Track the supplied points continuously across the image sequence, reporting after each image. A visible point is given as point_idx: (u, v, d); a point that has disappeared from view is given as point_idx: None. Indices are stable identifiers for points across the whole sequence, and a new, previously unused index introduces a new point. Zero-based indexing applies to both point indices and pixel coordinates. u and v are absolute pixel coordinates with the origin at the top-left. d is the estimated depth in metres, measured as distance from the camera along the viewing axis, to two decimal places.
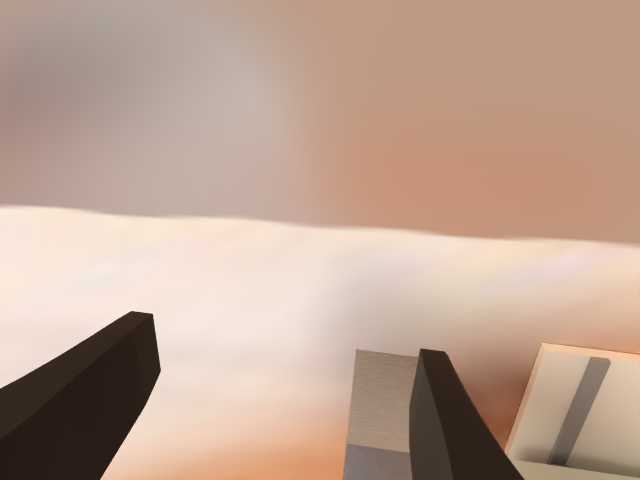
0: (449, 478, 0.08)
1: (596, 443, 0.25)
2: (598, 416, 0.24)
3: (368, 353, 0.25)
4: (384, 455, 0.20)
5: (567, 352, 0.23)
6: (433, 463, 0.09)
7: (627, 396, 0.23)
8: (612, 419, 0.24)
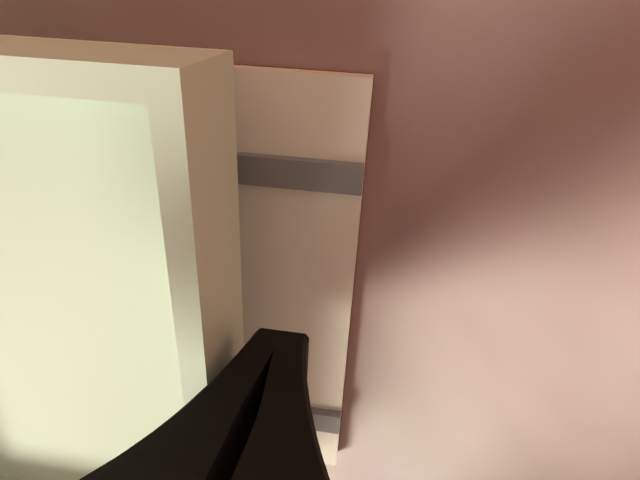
0: None
1: None
2: None
3: None
4: None
5: None
6: None
7: None
8: None
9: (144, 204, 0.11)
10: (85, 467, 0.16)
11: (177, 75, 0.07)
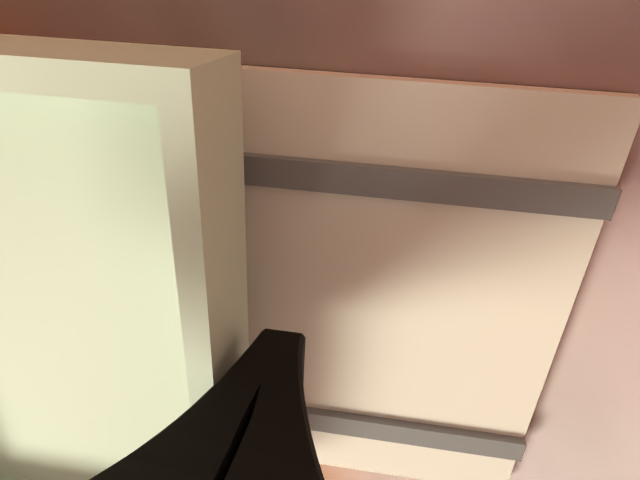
0: None
1: None
2: None
3: None
4: None
5: None
6: None
7: None
8: None
9: (150, 205, 0.11)
10: (89, 467, 0.16)
11: (187, 76, 0.07)
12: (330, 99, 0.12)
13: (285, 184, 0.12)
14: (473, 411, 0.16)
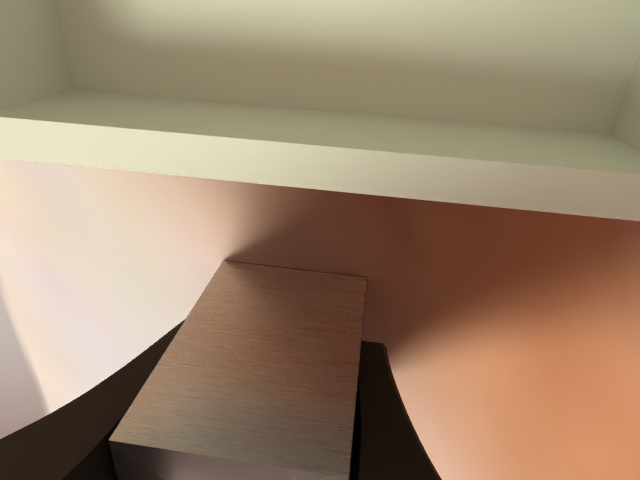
0: (359, 464, 0.08)
1: None
2: None
3: None
4: None
5: None
6: (356, 451, 0.09)
7: None
8: None
9: None
10: (310, 29, 0.07)
11: None
12: None
13: None
14: None
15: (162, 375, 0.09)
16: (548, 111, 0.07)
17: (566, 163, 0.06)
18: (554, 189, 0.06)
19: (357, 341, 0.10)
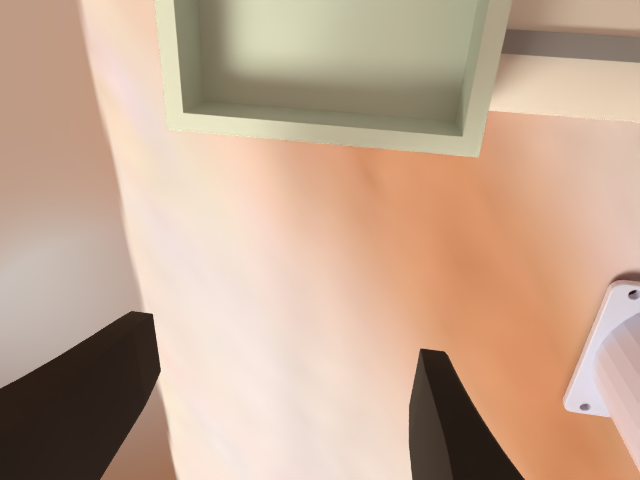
0: (449, 478, 0.08)
1: None
2: None
3: None
4: None
5: None
6: (433, 463, 0.09)
7: None
8: None
9: None
10: (319, 74, 0.16)
11: None
12: None
13: None
14: None
15: None
16: (426, 111, 0.16)
17: (422, 132, 0.15)
18: (416, 142, 0.15)
19: None
